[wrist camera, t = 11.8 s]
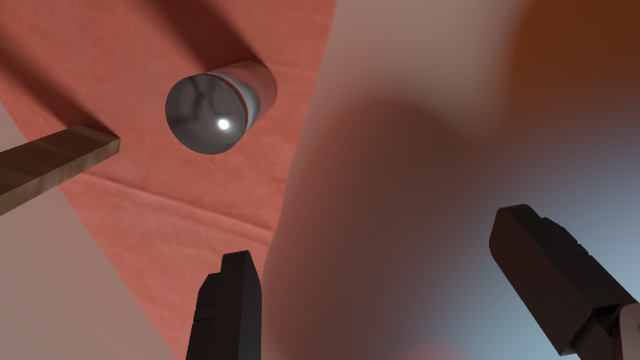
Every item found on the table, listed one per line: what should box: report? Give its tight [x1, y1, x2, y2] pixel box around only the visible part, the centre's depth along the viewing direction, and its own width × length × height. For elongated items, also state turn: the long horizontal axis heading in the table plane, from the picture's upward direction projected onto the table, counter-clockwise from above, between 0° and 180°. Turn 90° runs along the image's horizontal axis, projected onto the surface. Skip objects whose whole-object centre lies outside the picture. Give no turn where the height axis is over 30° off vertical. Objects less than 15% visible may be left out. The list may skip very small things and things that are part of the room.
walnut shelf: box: [0, 124, 120, 216], centre depth 20 cm, size 22×8×22 cm, turn 160°
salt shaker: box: [165, 61, 277, 155], centre depth 26 cm, size 5×5×11 cm
